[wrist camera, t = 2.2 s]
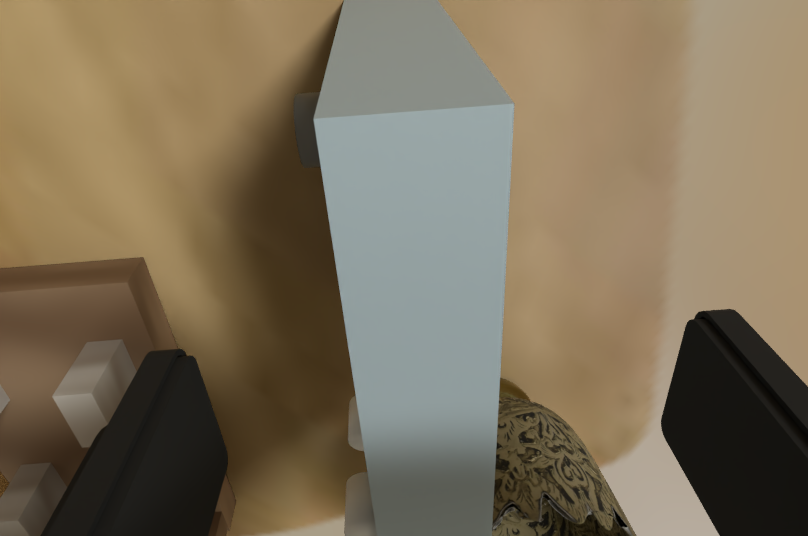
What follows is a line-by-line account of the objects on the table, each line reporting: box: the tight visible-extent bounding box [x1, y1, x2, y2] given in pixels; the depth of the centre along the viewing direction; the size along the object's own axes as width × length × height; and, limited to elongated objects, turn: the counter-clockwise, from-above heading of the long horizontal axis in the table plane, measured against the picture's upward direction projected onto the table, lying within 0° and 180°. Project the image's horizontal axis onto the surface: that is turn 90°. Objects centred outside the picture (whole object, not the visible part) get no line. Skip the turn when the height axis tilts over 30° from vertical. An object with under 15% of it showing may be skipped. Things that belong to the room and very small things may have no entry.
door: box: [294, 0, 514, 536], centre depth 13 cm, size 10×3×10 cm, turn 3°
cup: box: [492, 378, 636, 536], centre depth 20 cm, size 8×7×8 cm
